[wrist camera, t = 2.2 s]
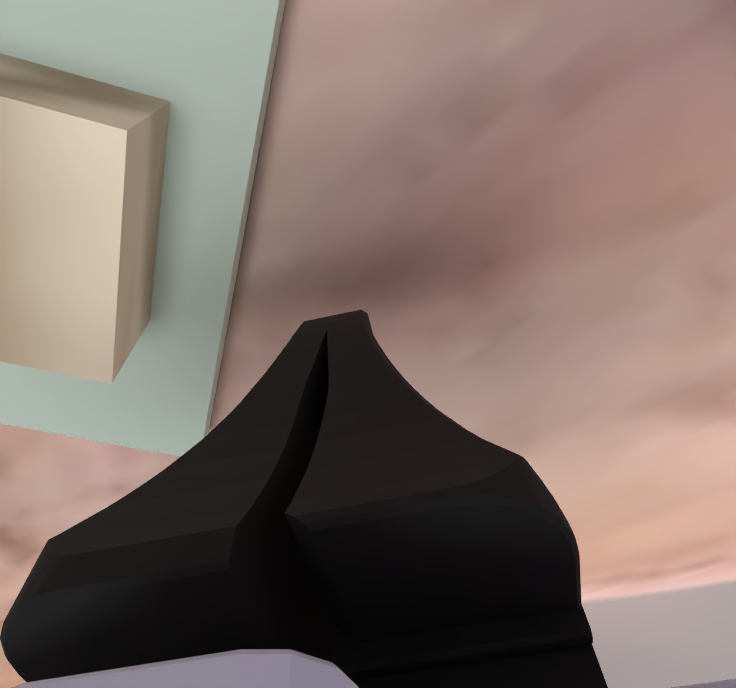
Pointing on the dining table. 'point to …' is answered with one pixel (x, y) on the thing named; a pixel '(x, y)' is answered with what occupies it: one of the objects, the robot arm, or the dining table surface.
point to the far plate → (178, 202)
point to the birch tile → (76, 218)
